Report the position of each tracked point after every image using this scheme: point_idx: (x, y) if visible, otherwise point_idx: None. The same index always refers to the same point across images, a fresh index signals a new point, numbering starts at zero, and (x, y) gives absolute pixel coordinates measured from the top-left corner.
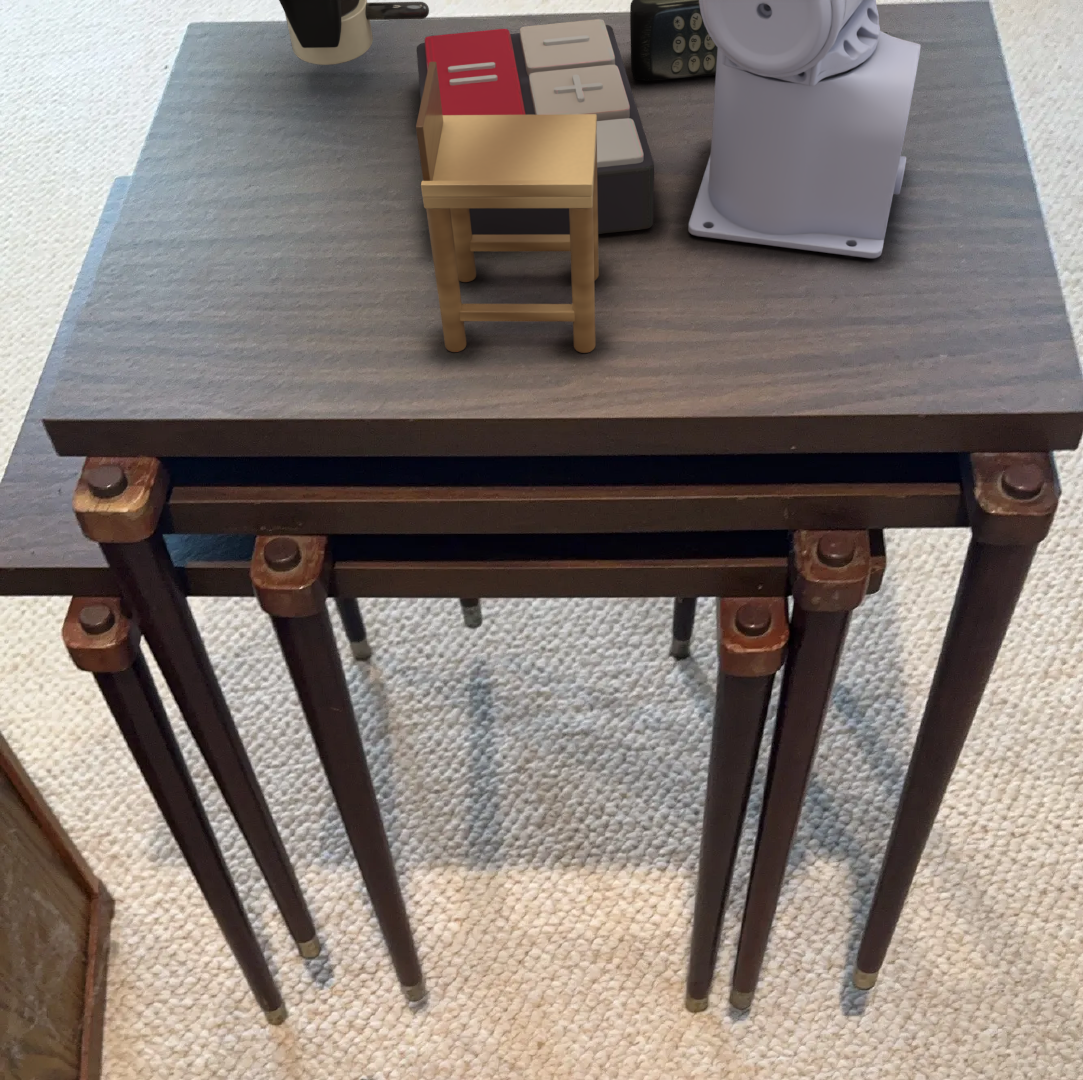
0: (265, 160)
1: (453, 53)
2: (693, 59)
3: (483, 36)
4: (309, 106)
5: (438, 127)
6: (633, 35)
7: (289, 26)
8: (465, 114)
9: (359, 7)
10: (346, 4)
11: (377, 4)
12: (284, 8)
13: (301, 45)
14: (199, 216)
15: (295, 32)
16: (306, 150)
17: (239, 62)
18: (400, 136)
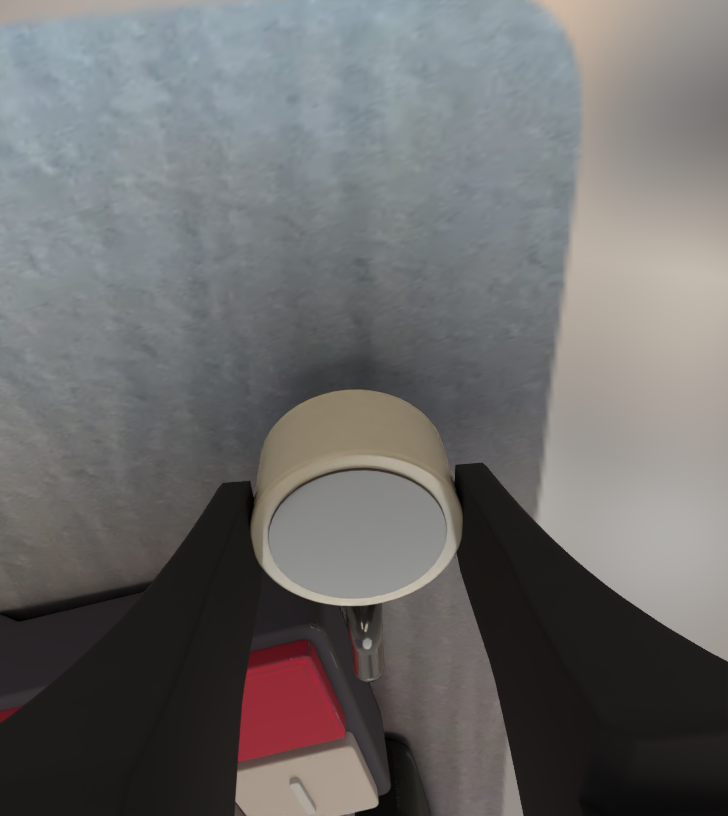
0: (27, 347)
1: (245, 702)
2: None
3: (312, 721)
4: (244, 384)
5: None
6: (359, 811)
7: (289, 452)
8: None
9: (341, 600)
10: (347, 581)
11: (359, 622)
12: (170, 559)
13: (221, 485)
14: None
15: (207, 506)
16: (90, 414)
17: (419, 172)
18: (179, 541)
